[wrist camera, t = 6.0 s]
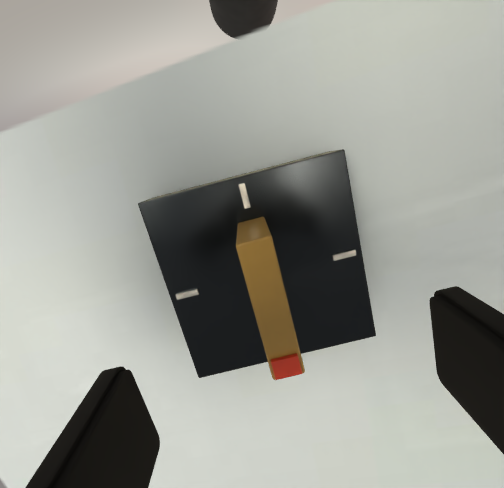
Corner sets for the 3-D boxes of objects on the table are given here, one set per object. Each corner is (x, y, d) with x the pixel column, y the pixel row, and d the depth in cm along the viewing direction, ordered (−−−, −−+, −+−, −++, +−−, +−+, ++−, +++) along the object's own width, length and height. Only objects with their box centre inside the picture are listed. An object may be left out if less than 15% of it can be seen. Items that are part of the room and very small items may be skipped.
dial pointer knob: (237, 222, 18) (234, 246, 13) (264, 215, 18) (272, 236, 13) (265, 327, 20) (273, 384, 15) (290, 321, 20) (306, 376, 15)
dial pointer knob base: (152, 197, 21) (136, 203, 17) (329, 151, 20) (345, 149, 17) (204, 352, 24) (198, 380, 20) (359, 314, 23) (377, 337, 20)
